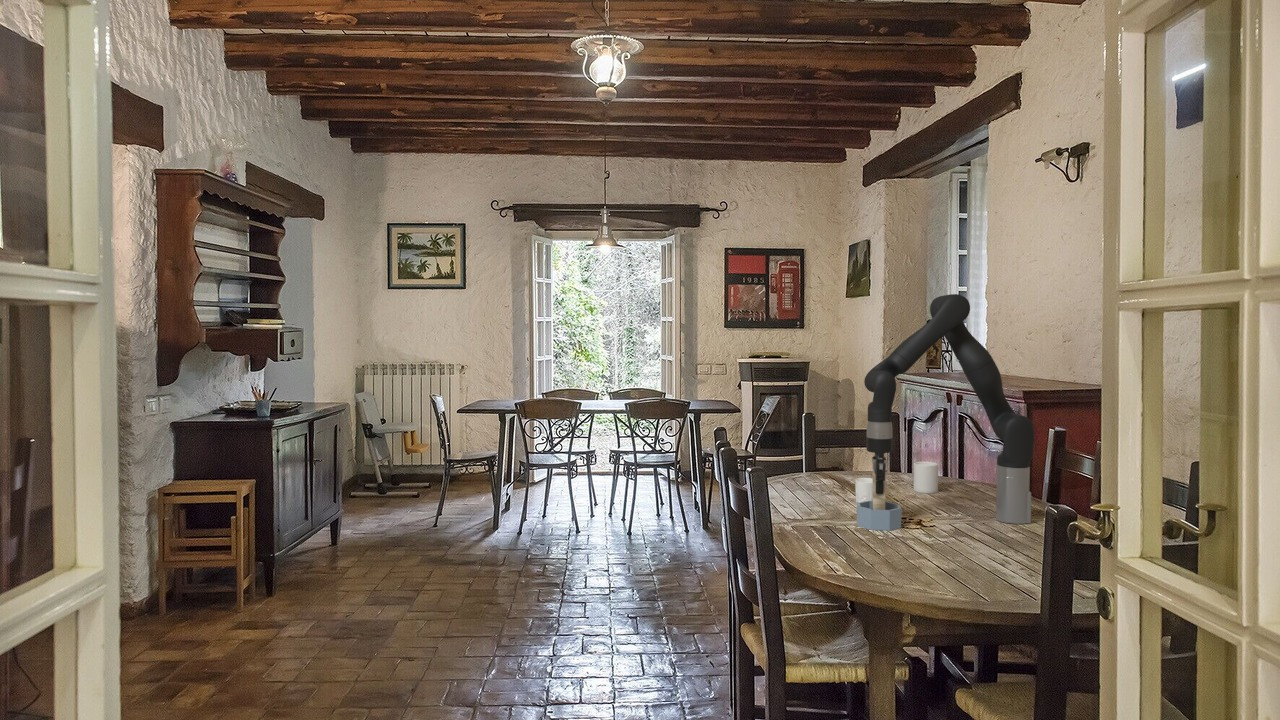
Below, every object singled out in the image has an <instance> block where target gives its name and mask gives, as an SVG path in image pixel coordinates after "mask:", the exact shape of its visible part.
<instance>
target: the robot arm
mask: <svg viewBox="0 0 1280 720" xmlns="http://www.w3.org/2000/svg"><path fill="white" fill-rule="evenodd" d="M970 311H971V304H970V302H969V299H967V298H966V296H963V294H957V293H953V294H946V295H945V294H944V295H940V296H938V297H935V298H934V299H933V300H932V301H931V303H930V306H929V312H930V317H931V319H930V320H929V321H928V322H927V323H925V324H924V326H922V327H920V328H919V329H918V330H917V331H915V332H914V333H912V334H911V335H909V336H908V337H907V338H905V339H904V340H903V341H902V342H901V343H900V344H899V345H898V346H897V347H896V348H894V350H893V351H892V352H891V353H890V354H889V356H888V357H886V358H885V359H883V360H881V361H880V362H878V364H876V365H875V366H873V367H872V368H871V369H870V370H869V371H868V373H866V375H865V376H864V383H863V384H864V387H865V389H866V390H868V391H869V392H870V393H873V395H872V396H873V398H872V401H871V402H869V403H868V406H867V423H866V451H867V452H868V453H873V454H874V456H871V461H872V471H873V470H874V473H875V474H876V476H875V480H876V494H883V489H884V481H885V473H887V469H886V468H887V466H886V465H887V463H888V462H887V458H886V456H885V454H888V453H889V454H890V453H892V452H893V424H892V423H893V422H892V421H893V419H892V418H893V412H892V411H893V409H892V407H893V405H894V404H893V403H894V401H895V396H896V393H897V392H896V391H897V382H896V381H897V380H896V377H897V376H899V375H903V374H905V373H906V372H908V371H909V370H910V369H912V367H913V366H914V365H915V364H916V362H918V361H919V360H920V358H921V357H922V356H924V355H925V353H927V352H928V350H929V349H931V348H932V347H933V346H934V345H935V344H936V343H937V342H938V341H940V339H942V338H943V337H944V338H945V339H946V342H947V343H948V344H949V346H950V348H951V350H952V352H953V354H954V356H955V357H956V359H957V361H958V363H959V365H960V367H961V369H962V371H963V374H964V375H965V377H966V378H967V380H968V382H969V384H970V386H971V387H972V389H973V391H974V392H975V395H976V397H977V398H978V400H979V402H980V403H981V404H982V406H983V410H984V412H985V413H986V416H987V417H988V421H989V424H990V425H991V428H992V430H993V432H994V434H995V436H996V437H997V438H998V439H999V440H1001V441H1003V444H1002V445H1003V446H1002V452H1001V453H1000V454H998V456H997V457H996V497H995V498H996V500H995V501H996V503H995V504H996V505H995V520H996V521H999V522H1000V523H1001V522H1002V523H1006V524H1014V525H1022V524H1025V525H1026V524H1031V522H1032V492H1031V491H1030V479H1031V478H1030V475H1031V474H1030V473H1031V460H1032V459H1033V455H1034V445H1035V444H1034V443H1035V427H1034V424H1033V421H1032V420H1031V419H1030V418H1029V417H1027V416H1026V415H1022V414H1017V413H1015V411H1014V410H1013V408H1012V407H1011V405H1010V404H1009V401H1008V400H1007V398H1006V396H1005V394H1004V388H1003V382H1002V381H1003V380H1002V376H1001V372H1000V369H999V367H998V366H997V364H996V361H995V360H994V358H993V357H992V355H991V353H990V352H989V351H988V350H987V349H986V347H985V346H983V344H982V343H980V341H978V340H977V339H976V338H975V337H974V336H973V335H972V334H971V332H970V331H969V330H968V328H967V327H966V324H965V320H966V319H968V316H969V314H970ZM878 474H882V477H878Z"/></svg>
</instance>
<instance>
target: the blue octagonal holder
mask: <svg viewBox="0 0 1280 720" xmlns="http://www.w3.org/2000/svg"><path fill="white" fill-rule="evenodd" d="M856 524H857V527H860V528H863V529H867V530H871V531H883V532H884V531H888V532H891V531H896V530H900V529H902V507H901V505H900V504H898V503H896V502H895V503H894V502H891V501H886V500H885V510H874V509H872V501H863V502H858V503H857V504H856Z"/></svg>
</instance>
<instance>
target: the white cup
mask: <svg viewBox="0 0 1280 720" xmlns="http://www.w3.org/2000/svg"><path fill="white" fill-rule="evenodd" d="M872 481H873V477H857V478H855V479H854V490H855V491H854V492H855V503H856V505H857V503H858V502H863V501H872Z"/></svg>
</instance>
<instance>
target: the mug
mask: <svg viewBox="0 0 1280 720" xmlns="http://www.w3.org/2000/svg"><path fill="white" fill-rule="evenodd" d="M938 488H939V464H938V462H937V463H936V462H933V461H916V462H914V463H913V491H914V492H915V493H917V494H925V495H932V494H934V495H935V494H937V493H938V491H939V489H938Z"/></svg>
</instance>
